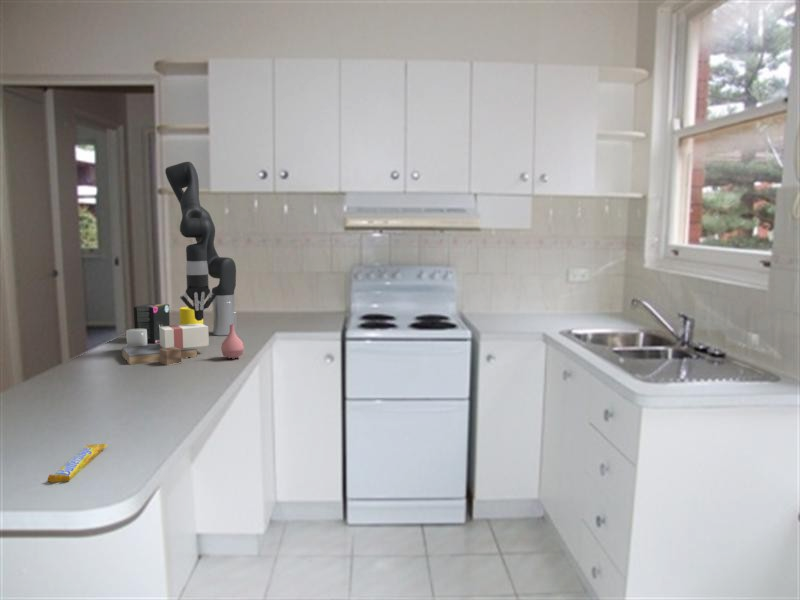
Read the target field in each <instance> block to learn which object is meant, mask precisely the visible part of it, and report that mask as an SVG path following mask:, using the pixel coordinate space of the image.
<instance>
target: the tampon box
mask: <svg viewBox="0 0 800 600" xmlns="http://www.w3.org/2000/svg"><path fill="white" fill-rule="evenodd" d="M133 319H134V320H133V322H134V329H147V344H159V343H160V330H159V327H161V326H171V325H170V322H171V321H170V304H167V303H165V304H162V303H147V304H146V303H145V304H141V305H135V306H133Z"/></svg>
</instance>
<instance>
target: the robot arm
mask: <svg viewBox="0 0 800 600" xmlns="http://www.w3.org/2000/svg"><path fill="white" fill-rule="evenodd" d="M164 172H165V175H166V179H167V182H168V183H169V186H170V188H171V189H172V191H173V193H174V195H175V197H176V199H177V201H178V203H179V205H180V209H181V210H180V211H181V214H182V217H181V220H180V225H179V231H180V234H181V235H182V236H183V237H184V238H188V239H189V238H191V239H192V238H194V239H195V241H196V242H195V243H193V244H192V243H191V244H188V245H186V248H185V252H186V253H185V256H186V263H185V264H186V266H185V271H186V272H185V273H186V290H185V293H184V294H182V295H180V297H179V299H180V300H181V301H182V302H183V303H184V304H185V305H186V307H189V308H190V309H193V310H194V314H195V319H196V320H197V321H201V320H202V319H203V320H204V310H205V309H209V307H210V306H211V305H212V307H211V308H212V310H211V311H212V331H213V333H212V334H213V335H214V336H228V334H229V332H230V325H231V324H233V325H234V332H235V333H237V334H238V330H237V329H238V327H237V324H238V323H237V321H238V320H237V311H235V308H236V307H235V289H236V285H237V265H236V263H235V260H233V258H230V257H226V256H224V257H223V256H221V257H220V256H219V254H218V253H217V250H216V247H215V236H216V227H215V223H214V222H213V219H212V217H211V214H210V212H208V210H207V209H205V208H204V207H202V206H201V201H200V184H199V182H200V180H199V175H198V172H197V169H196V167H195V166H194V164H193V163H192V162H191V161H183V162H180V163H177V164H174V165H173V164H172V165H170V166H167V167H166V168H165V170H164ZM184 188H186V189H185V190H183V189H184ZM209 276H210V277H211V278H212V279H216V280H217V279H219V282H218V285H217V286H214V287H212V289H210V287H209ZM207 297H208V298H207ZM188 299H190V300H191V301H192V303H191V302H190V300H188ZM206 299H207V300H206Z"/></svg>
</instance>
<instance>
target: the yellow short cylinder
mask: <svg viewBox="0 0 800 600" xmlns="http://www.w3.org/2000/svg"><path fill="white" fill-rule="evenodd" d="M200 323H202V324H204V318H203V319H202V320H201V321H197V320H196V319H195V314H194V310H193V309H190V308H189V307H188V306H182V307H179V325H187V324H200Z"/></svg>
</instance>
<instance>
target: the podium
mask: <svg viewBox="0 0 800 600" xmlns="http://www.w3.org/2000/svg"><path fill="white" fill-rule="evenodd" d="M160 349H163V348H162V347H161V346H160V343H154V344H148V345H144V346H134V347H127V346H125V347H121V353H122V355H121V357H123V358H124V359H125V361H126V360H127V361H126V362H127V364H129V365H136V364H137V365H138V364H145V363H146V364H147V363H154V362H160ZM180 349H181V358H184V359H187V358H186V357H193V358H197V357H198V348H197V347H190V348H180ZM196 356H197V357H196Z"/></svg>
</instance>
